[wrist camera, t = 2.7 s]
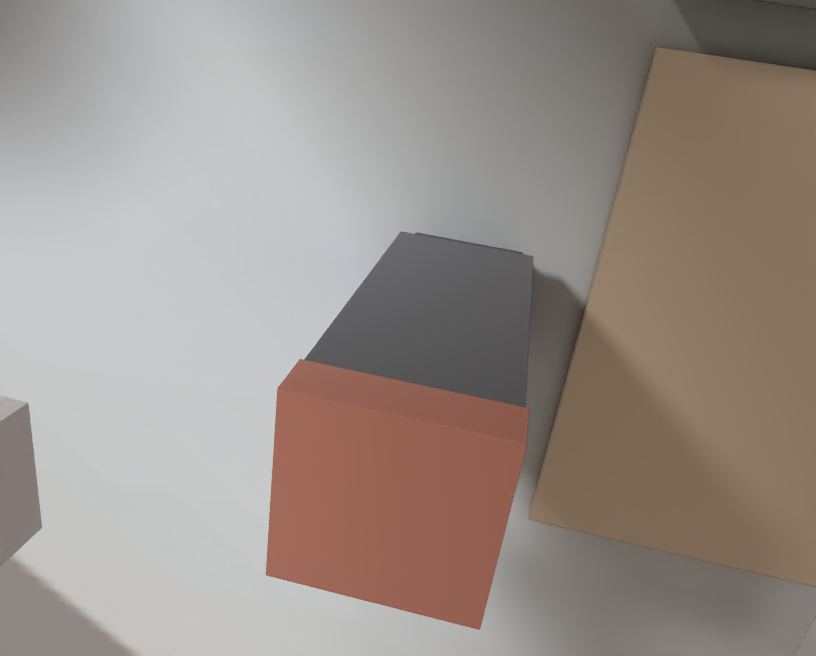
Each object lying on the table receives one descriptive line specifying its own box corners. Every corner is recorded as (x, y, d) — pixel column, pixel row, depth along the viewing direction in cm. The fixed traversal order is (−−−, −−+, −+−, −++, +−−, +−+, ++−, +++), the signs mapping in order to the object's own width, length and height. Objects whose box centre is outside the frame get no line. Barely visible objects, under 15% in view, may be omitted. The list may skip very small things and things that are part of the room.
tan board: (529, 512, 24) (529, 519, 24) (655, 46, 18) (657, 46, 17) (932, 606, 23) (938, 615, 23) (1236, 133, 16) (1252, 135, 16)
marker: (390, 335, 23) (265, 575, 13) (407, 220, 21) (277, 388, 11) (509, 360, 22) (479, 630, 12) (535, 244, 21) (527, 443, 10)
